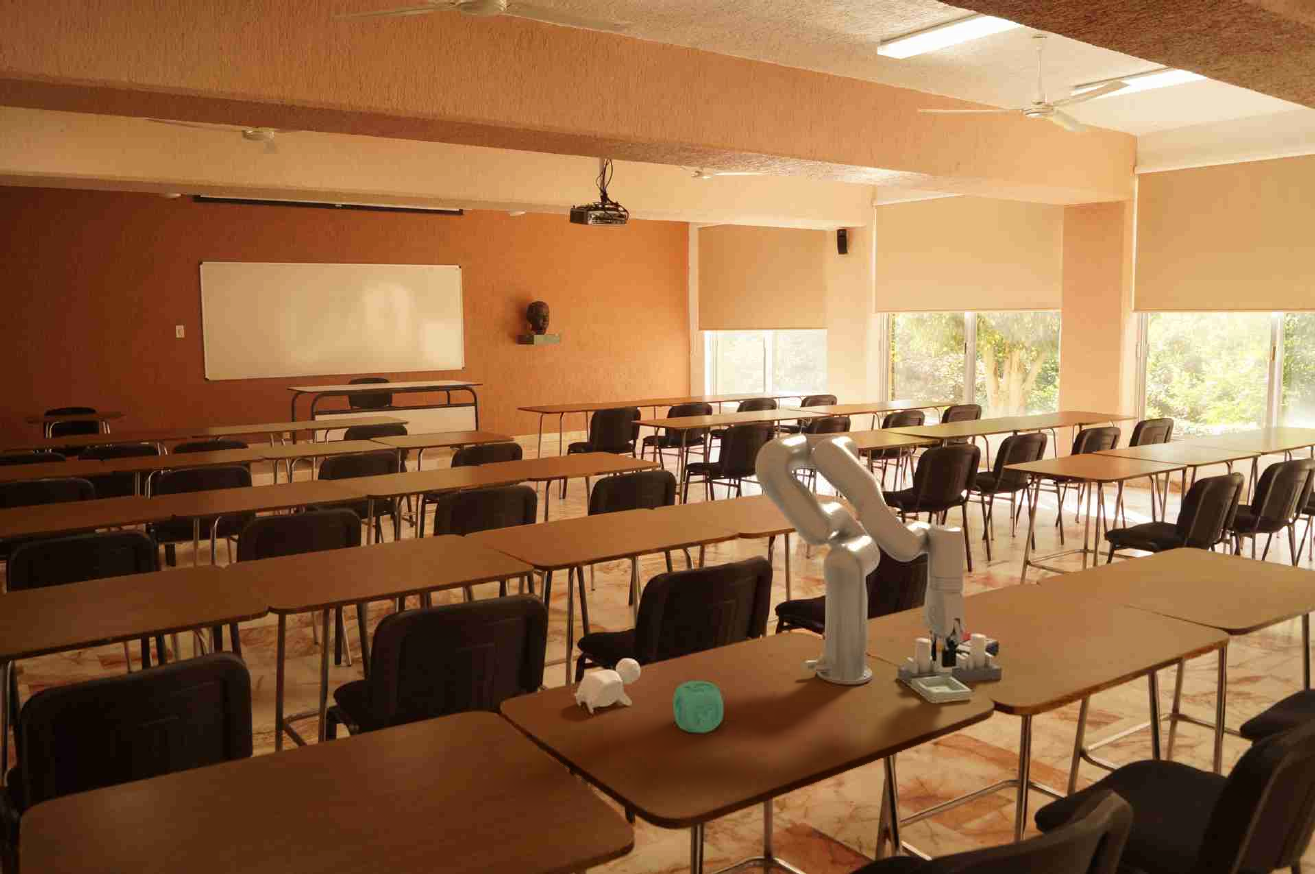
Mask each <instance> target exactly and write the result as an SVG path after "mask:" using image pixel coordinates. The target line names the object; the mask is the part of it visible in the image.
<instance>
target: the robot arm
mask: <svg viewBox="0 0 1315 874" xmlns="http://www.w3.org/2000/svg"><path fill="white" fill-rule="evenodd" d="M754 465H755V466H754V469H755V470H754V471H755V478H756V481H757V482H758V486H759V487H760V488H761V490H762V491H763V492H764V494H765V495H766V497H767V498H768V499H769V500H770V501H771V502H772V503H773V505H775V507H776V508H777V509H778V511H780V512H781V514H782V515H783V516H784V518H785V519H786V520H787V522H788V523H789V524H790V525H791V526H792V527H793V529H794V530H795V532H797V534H798V535H799V536H800V537H801V539H802V540H804V541H805V542H806V543H807V544H808V545H809V546H812V547H818V548H819V547H823V546H825V545H828V546H829V547H830V549H829V550H828V551H827V554H826V555H825V558H824V560H823V578H824V579H823V580H824V587H825V588H824V589H825V606H824V607H825V609H824V610H825V615H824V616H825V620H824V621H825V622H824V623H825V624H824V625H825V626H824V653H822V654H821V653H820V657H819V658H817V659H816V660H813V659H812V660H811V659H809V660H808V659H807V660H804V662H803V663H804V669H805V670H809V669H810V670H812V669H813V670H814V672H816V673H817V675H818V676H819V678H821V679H822V680H824V681H827V682H829V683H833V684H837V685H838V684H839V685H848V686H849V685H851V686H852V685H862V684H865V682H866V683H867V682H870V681H871V680H872V679H873V671H872V669H871V668H870V667H868V666H867V640H868V639H867V638H868V637H867V636H868V590H867V584H866V583H867V581H866V578H867V576H868V575H870V574H871V573H872V572H873V571H874V570H875V569H876V568H877V567H878V566H879V563H880V561H881V552H880V549H879V547H880V548H881V549H882V550H883V551H884V553H886V554H887V556H889V557H890V558H892V559H894V560H895V561H899V562H911V561H912V560H915V559H916V558H917V557H919V556H921V555H924V554H927V584H926V585H927V586H926V589H925V595H924V601H923V603H924V604H923V616H922V617H923V620H922V621H923V622H922V624H923V626H924V628H926V629H927V630H928V631H929V633H930V635H931V636H930V640H931V648H932V660H933V661H936V634H937V635H939V636H940V637H942V638H943V643H944V649H942V667H944V668H946V667H955V666H956V650H957V649H958V645H959V644H961V643H963V638H962V635H963V633H965V632H964V631H965V605H964V596H963V591H964V572H965V570H964V563H965V561H964V560H965V532H964V530H963V528H961V527H959V526H956V525H953V524H952V525H950V524H949V525H948V524H933V523H929V522H925V521H920V520H909V521H906V522H904V523H903V522H902V521H901V520H900V519H899V518H898V517H897V516H896V515H895V513H893V511H892V510H891V509H890V508H889V506H888V504H887V503H886V501H885V498H884V495H883V487H882V483H881V481H880V479H879V478H878V477H877V476H876V475H875V474H874V473H872V472H871V470H869V468H867V467H866V466H865V465H864V464H863V462H861V460H859V449H858V446H857V444H856V443H855V441H854V440H852V439H851V438H850V437H847V436H846V435H842V434H817V433H814V434H813V433H792V434H788V435H784V436H783V435H782V436H778V437H775V438H773V439H771V440H769V441H767V442H765V443H764V444H763V445H762V447H761V448H760V449H759V450H758V453H757V455H756V458H755V463H754ZM798 469H814V470H816V472H818V473H819V474H820V475H821V476H822V477H823V478H824V480H826V482H828V484H829V485H831V487H833V488H834V490H835V491H837V492H838V493H839V495H840V496H841V497H842V498H843V499H844V500H845V501H846V502H847V503H848V504H849V505H850V506H851V508H852V509H853V511H854V513H855V516H856V517H857V519H858V520H859V521H858V520H857V519H856V518H855V516H854V515H853V514H852V513H851V511H849V510H848V509H847V508H846V507H845V506H844V505H842V504H841V503H839V502H837V501H834V500H823V501H820V500H819V499H818V498H817V497H816V495H814V493H813V492H812V491H811V489H810V488H809V487H807V485H806V484H805V483H803V481H801V480H800V479H798V478H797V477H796V476H795V475H794V473H793V471H795V470H796V471H797V470H798ZM878 546H879V547H878ZM951 633H953V635H951ZM951 638H952V640H950V641H949V643H948V639H951Z"/></svg>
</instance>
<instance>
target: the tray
mask: <svg viewBox="0 0 1315 874" xmlns="http://www.w3.org/2000/svg"><path fill="white" fill-rule="evenodd" d="M911 687H913V688H915V690H917V691H918V692H919V693H921V694H922V695H924V697H926V698H927V699H929V700H930V701H931V702H936V701H944V700H951V699H966V698H971V699H972V692H973V691H972V690H971V689H970V688H969V687H967V686H966V685H964V684H962V682H958V681H957V680H955V679H954V678H952V677H947V678H945V677H939V676H935V677H924V678H913V679H911ZM911 687H910V688H911ZM936 688H937V689H936ZM938 688H939V689H938ZM924 697H923V698H924Z"/></svg>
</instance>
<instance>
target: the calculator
mask: <svg viewBox="0 0 1315 874" xmlns="http://www.w3.org/2000/svg"><path fill="white" fill-rule="evenodd" d="M971 634H972V633H966V632H964V633H963V635H962V638H963V643H961V644H959V645H958V649H957V650H956V654H960V655H961V653H966V654H968V655H969V656H970V637H971ZM999 647H1000V643H999V641H997V639H993V638H988V637H986V648H985V652H987V653H989V654H991V655H992V656H993V655H994V654H996V653H997V652H998V653H999V649H1000V648H999ZM998 653H997V654H998ZM997 654H996V655H997ZM931 656H932V647H931ZM994 656H995V655H994Z"/></svg>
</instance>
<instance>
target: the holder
mask: <svg viewBox="0 0 1315 874" xmlns="http://www.w3.org/2000/svg"><path fill="white" fill-rule="evenodd" d="M970 634H971V637H970V656H969V655H968V654H966V653H961V655H960V654H956V666H955V667H952V676H951V677H952V678H954V679H955V680H957V681H958V682H960V683H968V682H976V681H975V680H980V681H987V680H986V679H991V680H993V679H992V678H1001V679H1002V671H1003V670H1002V667H1000V666H999V665H997V664H996V663H994V658H995V657H994V656H995V655H994V656H992V655H991V654H989V653H987V652H985V648H986V638H987V636H986V635H984V634H981V633H970ZM931 648H932V642H931V639H928V638H925V637H924V638H923V637H918V638H916V639H915V651H914V656H915V657H914V659H913V658H912V657H906V666H898V667H897V669H898V670H897V678H898V677H899V678H901V679H902V680H904V681H905V682H907V683H908V684H910V685H911V679H913V678H924V677H935V676H937V675H936V661H933V660H932V656H931ZM899 678H898V679H899ZM901 679H900V680H901ZM902 680H901V681H902ZM905 682H904V683H905Z"/></svg>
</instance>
